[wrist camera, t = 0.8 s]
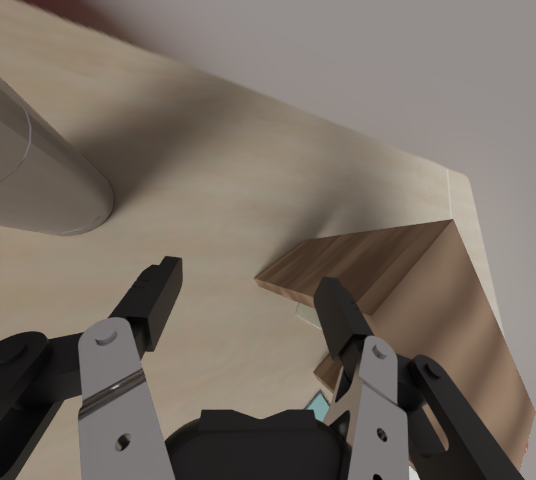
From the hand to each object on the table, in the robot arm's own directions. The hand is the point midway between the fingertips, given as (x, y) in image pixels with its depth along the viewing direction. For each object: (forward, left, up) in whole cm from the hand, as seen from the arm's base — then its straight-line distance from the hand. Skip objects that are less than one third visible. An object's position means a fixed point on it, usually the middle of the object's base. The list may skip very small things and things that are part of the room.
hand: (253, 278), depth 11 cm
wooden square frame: (+17, +10, -19) cm, 28 cm away
